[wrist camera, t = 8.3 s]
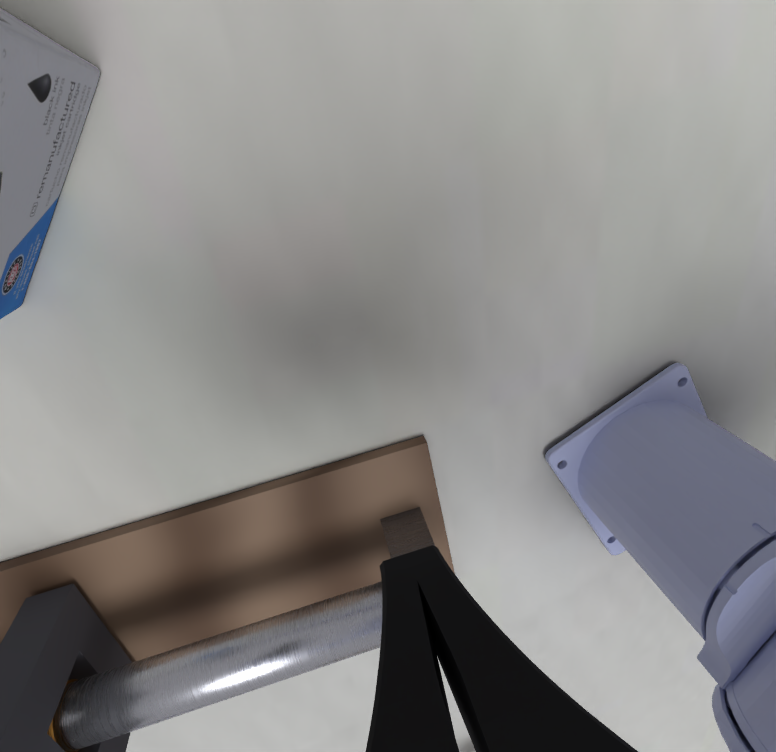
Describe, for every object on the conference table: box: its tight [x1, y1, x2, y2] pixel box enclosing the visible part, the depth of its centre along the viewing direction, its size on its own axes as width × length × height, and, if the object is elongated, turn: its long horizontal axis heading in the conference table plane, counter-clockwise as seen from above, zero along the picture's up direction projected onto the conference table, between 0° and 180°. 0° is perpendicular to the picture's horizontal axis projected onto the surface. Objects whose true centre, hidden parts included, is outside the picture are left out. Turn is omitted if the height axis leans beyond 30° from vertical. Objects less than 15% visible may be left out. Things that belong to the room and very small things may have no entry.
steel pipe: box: [47, 507, 435, 752], centre depth 21 cm, size 22×3×5 cm, turn 102°
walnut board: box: [0, 436, 455, 662], centre depth 23 cm, size 24×10×1 cm, turn 102°
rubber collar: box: [0, 584, 132, 752], centre depth 19 cm, size 2×7×7 cm, turn 12°
